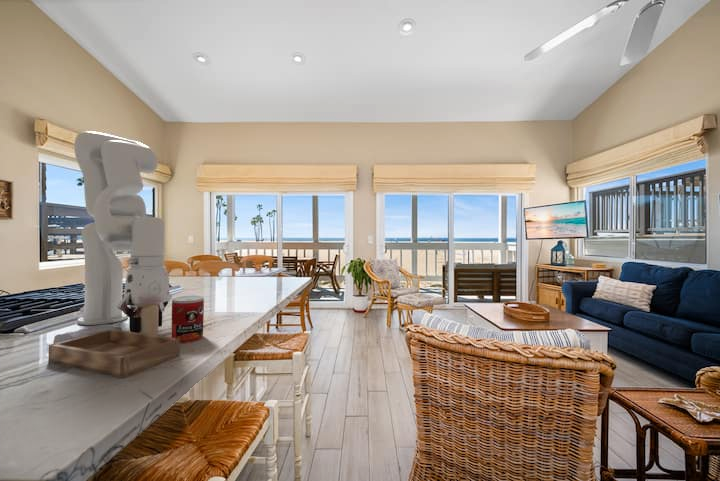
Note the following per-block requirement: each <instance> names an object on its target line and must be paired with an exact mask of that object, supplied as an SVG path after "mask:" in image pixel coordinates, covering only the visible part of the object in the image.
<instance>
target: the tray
mask: <svg viewBox="0 0 720 481" xmlns="http://www.w3.org/2000/svg"><path fill="white" fill-rule="evenodd" d="M180 349H181V343H180V339H176V338H172V337H169V336H163V335H162V336H161V335H158V336H155V335H148V334H142V333H135V332H130V331H127V330H123V331H121V330H114V329H110V330H106V331H102V332H98V333H95V334H91V335H87V336H83V337H79V338H75V339H71V340H67V341H63V342H59V343H55V344H53V343H52V344H48V364H53V365H56V366H57V365H58V366H62V367H68V368H71V369H77V370H82V371H88V372H92V373H95V374H101V375H105V376H111V377H116V378H121V379H126V378H129V377H130V376H132V375H136V374H137V373H139V372H142V371H146V370H147V369H150V368H152V367H155V366H157V365H160V364H162V363H165V362H167V361H169V360H172V359H174V358H177V357H179V356H181V354H180V352H181V350H180Z"/></svg>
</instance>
